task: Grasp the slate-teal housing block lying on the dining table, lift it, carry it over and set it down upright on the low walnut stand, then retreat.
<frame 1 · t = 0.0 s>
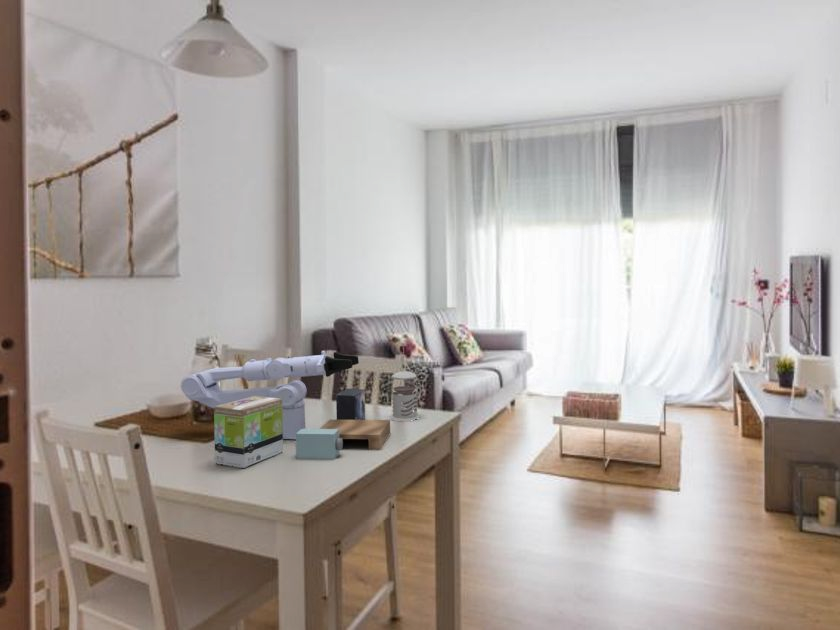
hand: (355, 361, 169), 22 cm above the table, tool horizontal, fingers open, 7 cm apart
housing: (318, 456, 153), on the table
small box: (351, 425, 185), on the table
tea box: (250, 459, 152), on the table
stand: (353, 440, 166), on the table
french press: (407, 418, 192), on the table
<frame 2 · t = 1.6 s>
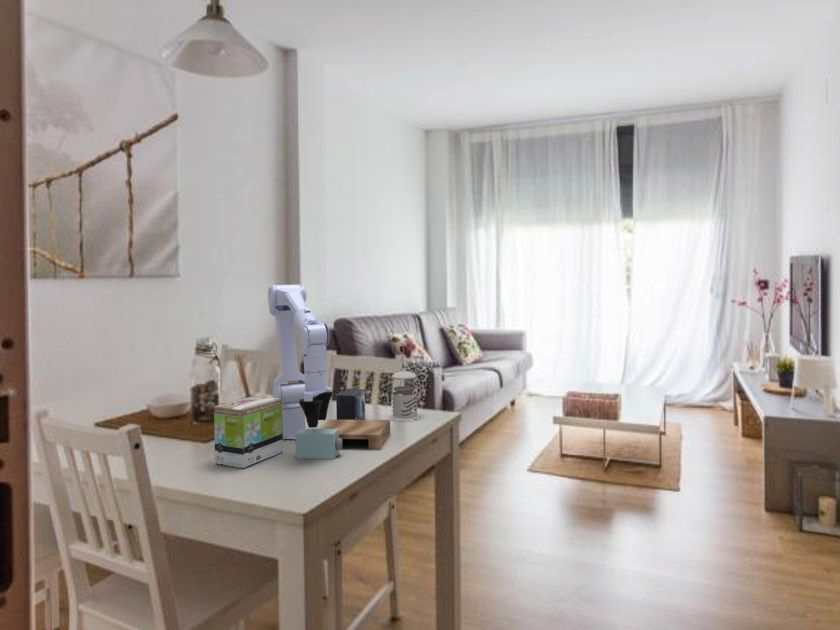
hand: (317, 423, 152), 8 cm above the table, tool pointing down, fingers open, 7 cm apart
nothing on the table moved.
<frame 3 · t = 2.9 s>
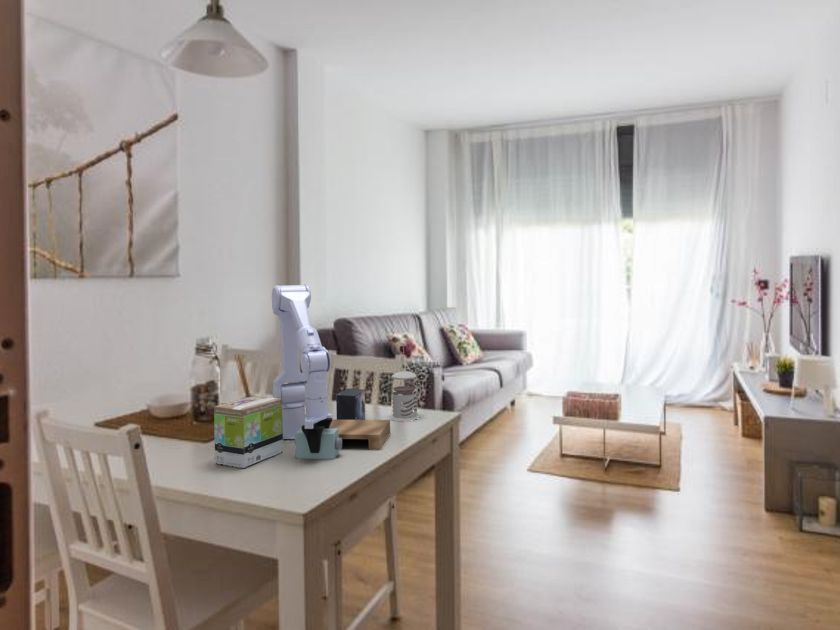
hand: (318, 449, 153), 2 cm above the table, tool pointing down, fingers closed on housing, 5 cm apart
housing: (317, 455, 153), on the table, touching gripper
everything else where it was.
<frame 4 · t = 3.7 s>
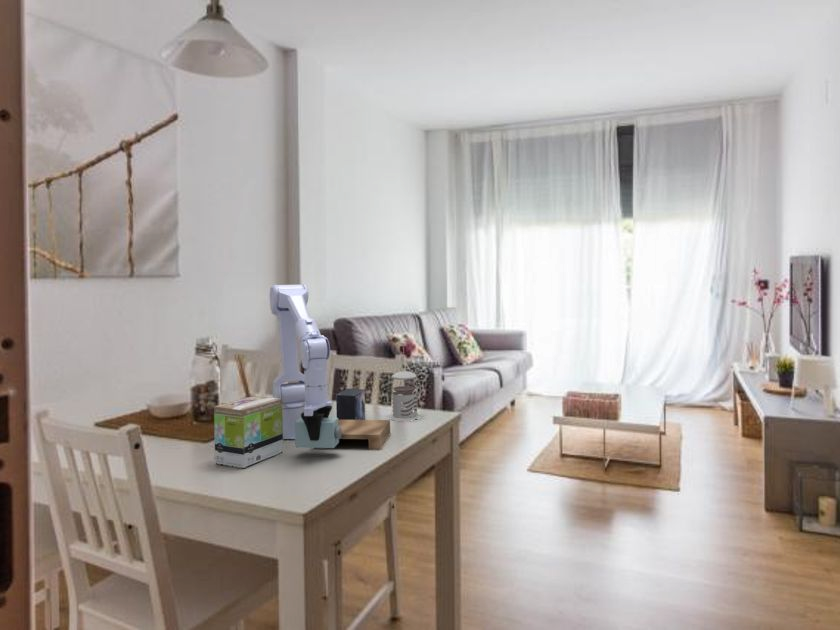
hand: (317, 437, 153), 5 cm above the table, tool pointing down, fingers closed on housing, 5 cm apart
housing: (317, 444, 153), point 3 cm above the table, touching gripper
everything else where it was.
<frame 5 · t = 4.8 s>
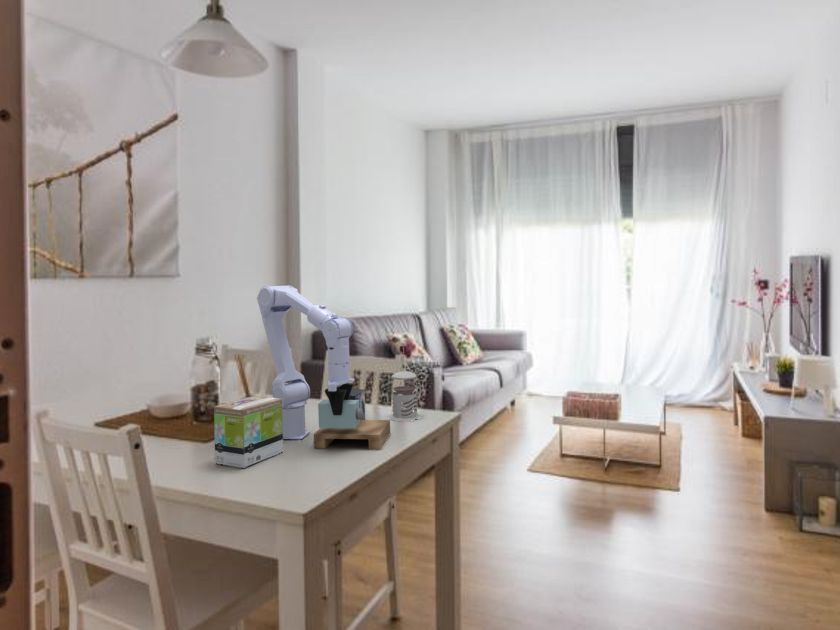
hand: (340, 412, 161), 9 cm above the table, tool pointing down, fingers closed on housing, 5 cm apart
housing: (339, 425, 161), point 6 cm above the table, touching gripper
everything else where it was.
when the fingers open (7 cm above the table, at t = 6.1 s): housing stays where it is, resting on stand.
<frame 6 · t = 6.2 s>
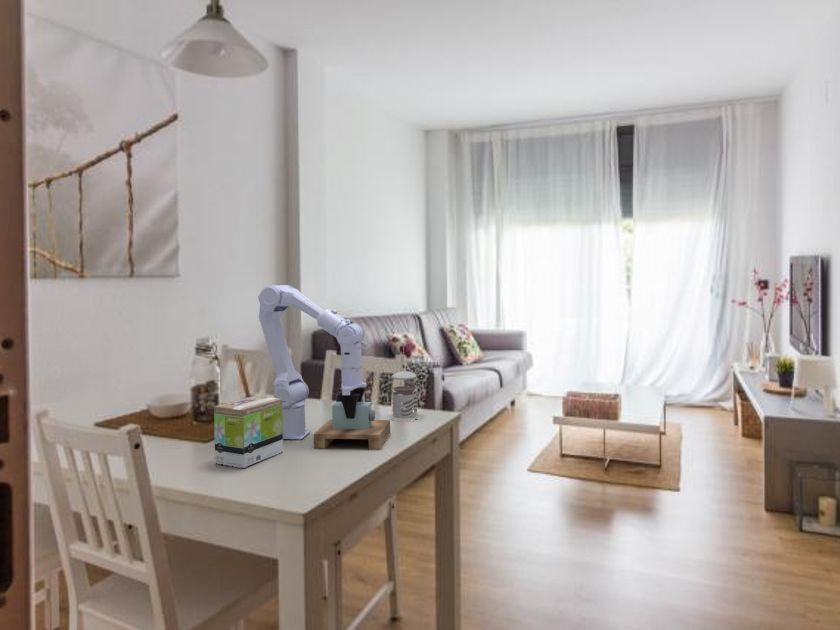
hand: (353, 415, 166), 7 cm above the table, tool pointing down, fingers open, 5 cm apart
housing: (352, 426, 166), point 4 cm above the table, touching stand
everything else where it was.
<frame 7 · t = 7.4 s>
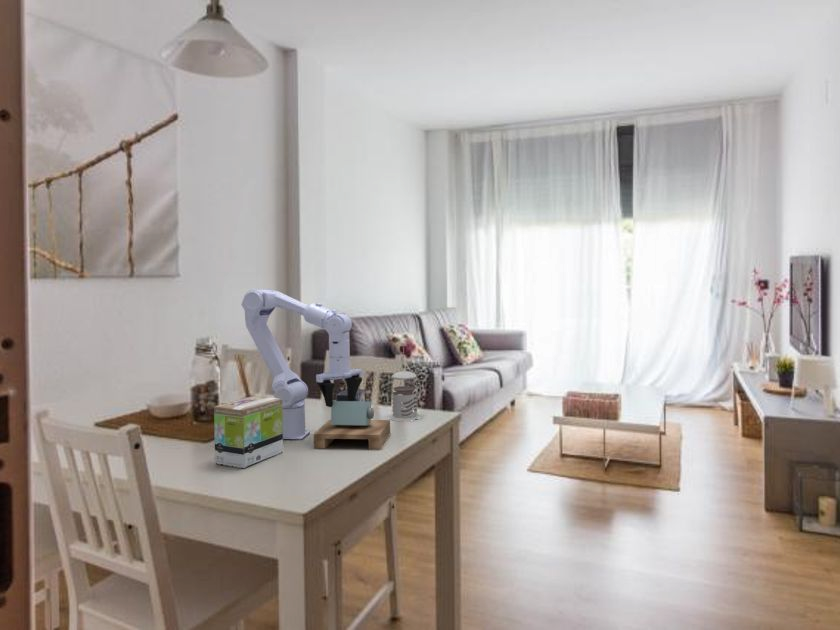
hand: (340, 404, 168), 10 cm above the table, tool pointing down, fingers open, 7 cm apart
housing: (350, 424, 166), point 5 cm above the table, tilted 12°, touching gripper
everything else where it was.
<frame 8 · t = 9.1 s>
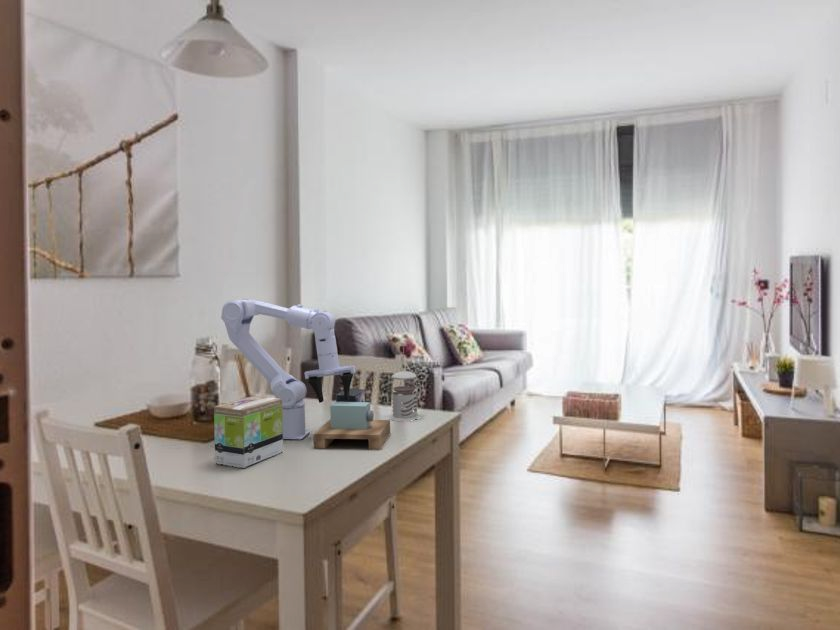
hand: (334, 400, 170), 11 cm above the table, tool pointing down, fingers open, 7 cm apart
housing: (351, 426, 166), point 4 cm above the table, touching stand
everything else where it was.
at the end: housing inside the target area on the stand (0.6 cm from its centre), point 4.0 cm above the stand's base; housing tilted 0°; the gripper is holding nothing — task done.
